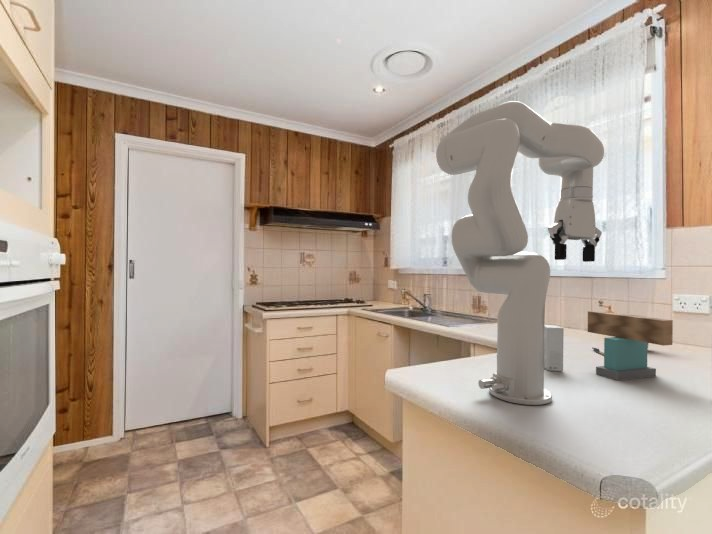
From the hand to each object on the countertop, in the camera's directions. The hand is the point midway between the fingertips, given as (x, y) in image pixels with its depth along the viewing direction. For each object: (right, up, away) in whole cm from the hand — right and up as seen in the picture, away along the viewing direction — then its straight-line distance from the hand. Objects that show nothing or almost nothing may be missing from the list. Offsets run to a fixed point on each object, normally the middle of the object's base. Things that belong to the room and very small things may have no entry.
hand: (574, 260), depth 98 cm
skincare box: (-3, -31, +6) cm, 32 cm away
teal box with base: (+14, -31, 0) cm, 34 cm away
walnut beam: (+14, -21, 0) cm, 25 cm away
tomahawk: (+25, -32, +22) cm, 46 cm away
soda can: (+43, -32, +34) cm, 63 cm away
